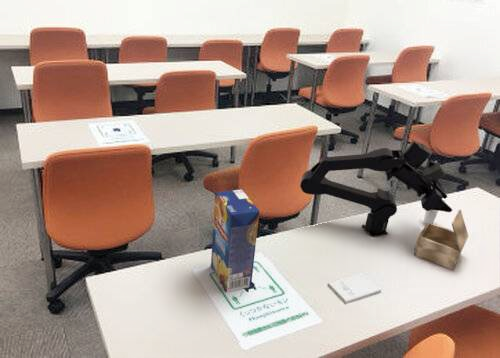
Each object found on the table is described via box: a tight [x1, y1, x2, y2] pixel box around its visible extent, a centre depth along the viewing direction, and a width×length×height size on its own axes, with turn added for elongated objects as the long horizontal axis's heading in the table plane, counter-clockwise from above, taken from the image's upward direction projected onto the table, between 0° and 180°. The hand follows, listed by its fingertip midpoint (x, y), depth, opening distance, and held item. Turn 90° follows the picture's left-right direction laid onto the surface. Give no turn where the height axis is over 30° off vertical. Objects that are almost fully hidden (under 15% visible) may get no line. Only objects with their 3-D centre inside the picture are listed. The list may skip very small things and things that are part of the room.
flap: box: [451, 209, 469, 252], centre depth 140 cm, size 9×11×1 cm
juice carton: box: [210, 188, 260, 293], centre depth 123 cm, size 12×8×24 cm, turn 23°
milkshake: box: [423, 199, 446, 225], centre depth 162 cm, size 5×5×10 cm
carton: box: [413, 222, 462, 271], centre depth 145 cm, size 12×12×7 cm
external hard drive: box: [327, 272, 382, 305], centre depth 128 cm, size 2×8×12 cm
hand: (448, 204), depth 147 cm, fingers open, 9 cm apart
